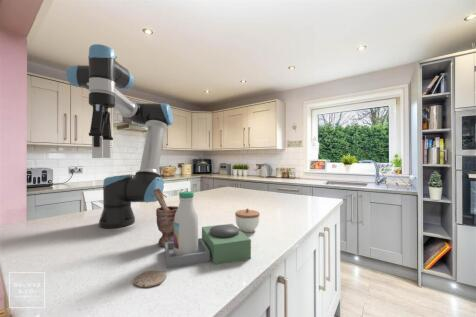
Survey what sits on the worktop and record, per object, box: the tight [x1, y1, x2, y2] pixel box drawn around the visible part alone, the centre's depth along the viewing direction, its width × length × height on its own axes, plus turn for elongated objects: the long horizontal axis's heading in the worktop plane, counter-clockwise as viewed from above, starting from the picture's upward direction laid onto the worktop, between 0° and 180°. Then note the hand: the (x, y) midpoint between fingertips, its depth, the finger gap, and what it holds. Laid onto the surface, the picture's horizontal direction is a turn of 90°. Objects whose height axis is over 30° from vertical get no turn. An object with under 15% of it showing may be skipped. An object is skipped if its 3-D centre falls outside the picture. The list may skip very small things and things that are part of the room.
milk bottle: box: [174, 190, 199, 256], centre depth 72 cm, size 8×8×20 cm
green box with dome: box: [201, 223, 252, 266], centre depth 77 cm, size 18×12×7 cm, turn 21°
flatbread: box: [133, 270, 167, 288], centre depth 59 cm, size 8×8×1 cm
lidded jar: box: [234, 208, 261, 233], centre depth 99 cm, size 11×11×9 cm
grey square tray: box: [164, 237, 211, 269], centre depth 73 cm, size 13×13×3 cm
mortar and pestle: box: [154, 189, 179, 248], centre depth 84 cm, size 12×9×20 cm
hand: (102, 158), depth 74 cm, fingers open, 13 cm apart
